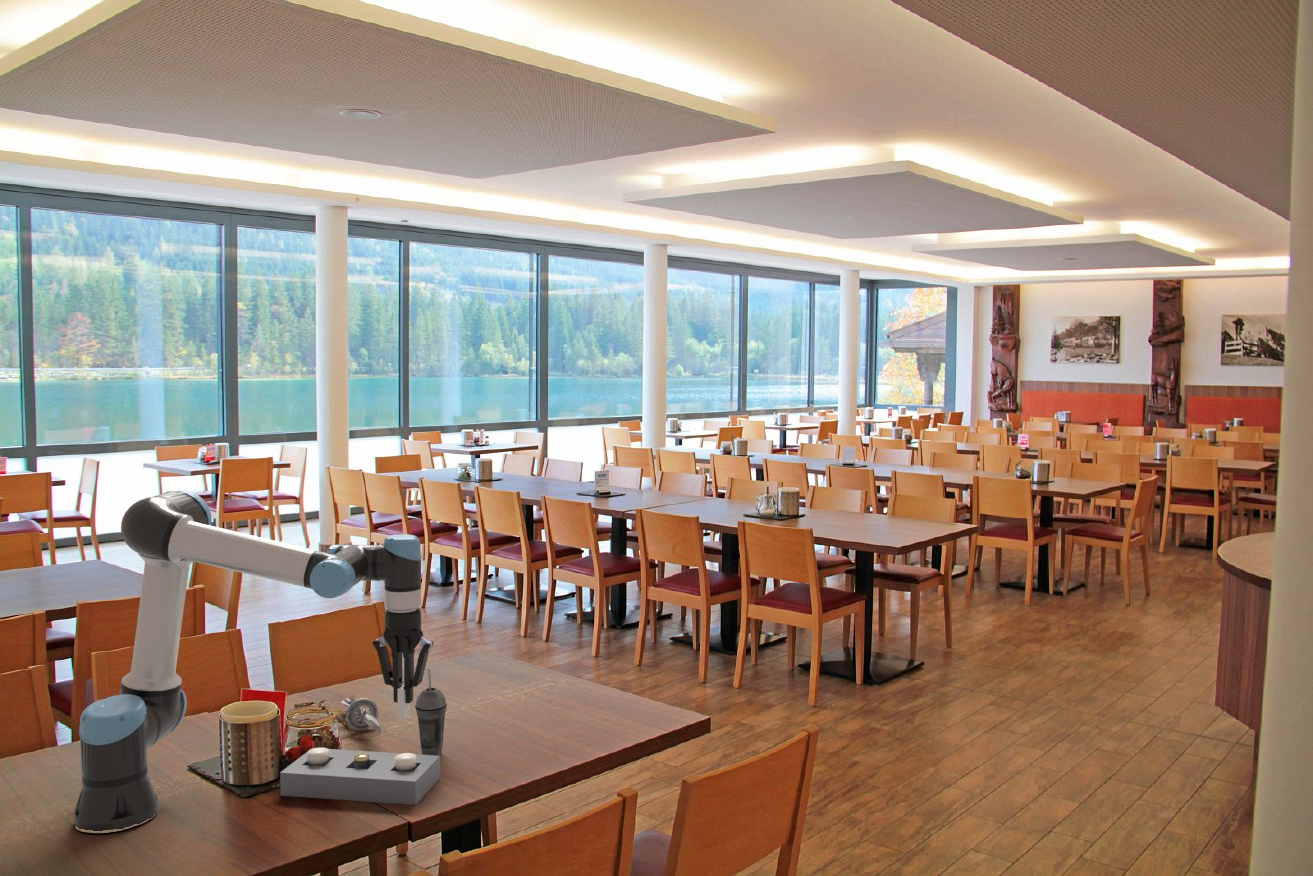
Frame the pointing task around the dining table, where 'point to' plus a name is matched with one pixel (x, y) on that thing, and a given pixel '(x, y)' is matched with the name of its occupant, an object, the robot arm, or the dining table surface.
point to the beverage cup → (431, 719)
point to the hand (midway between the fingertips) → (403, 717)
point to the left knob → (318, 756)
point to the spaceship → (361, 713)
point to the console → (361, 778)
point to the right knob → (405, 762)
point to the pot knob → (361, 761)
